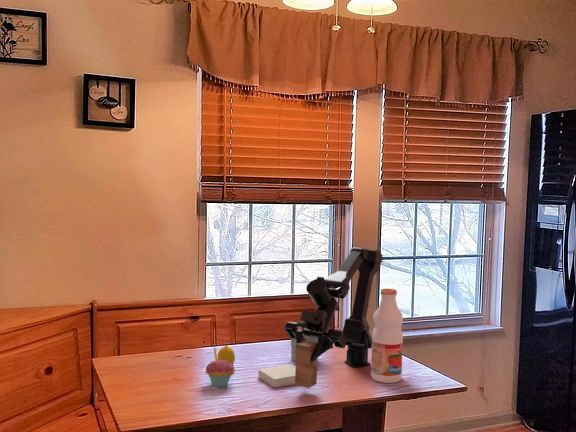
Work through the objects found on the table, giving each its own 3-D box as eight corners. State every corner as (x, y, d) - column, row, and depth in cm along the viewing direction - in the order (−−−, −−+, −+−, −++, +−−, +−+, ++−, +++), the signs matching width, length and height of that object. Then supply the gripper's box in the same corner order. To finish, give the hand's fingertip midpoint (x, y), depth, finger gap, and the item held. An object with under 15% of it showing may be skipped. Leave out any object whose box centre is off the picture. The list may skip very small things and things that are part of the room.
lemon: (231, 373, 184) (232, 348, 184) (215, 372, 186) (215, 347, 185) (236, 368, 190) (237, 343, 189) (220, 366, 191) (220, 342, 190)
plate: (291, 371, 187) (291, 364, 187) (308, 381, 179) (308, 373, 179) (258, 377, 181) (258, 369, 181) (274, 387, 173) (274, 379, 172)
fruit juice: (377, 371, 189) (379, 286, 187) (405, 377, 184) (408, 289, 183) (366, 380, 181) (368, 290, 179) (395, 385, 176) (398, 293, 175)
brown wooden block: (303, 380, 172) (304, 340, 171) (316, 383, 169) (317, 343, 169) (295, 385, 168) (295, 344, 167) (308, 388, 166) (309, 346, 165)
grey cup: (283, 358, 201) (284, 324, 200) (302, 352, 209) (303, 319, 208) (306, 365, 194) (307, 329, 194) (324, 358, 202) (325, 324, 201)
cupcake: (211, 390, 169) (211, 349, 168) (201, 381, 176) (201, 342, 176) (238, 386, 173) (239, 346, 172) (228, 377, 180) (228, 339, 180)
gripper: (287, 294, 175) (266, 339, 167) (343, 302, 165) (323, 350, 157) (300, 315, 183) (280, 359, 174) (354, 324, 173) (336, 371, 164)
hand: (304, 359), depth 167 cm, fingers closed on brown wooden block, 4 cm apart
